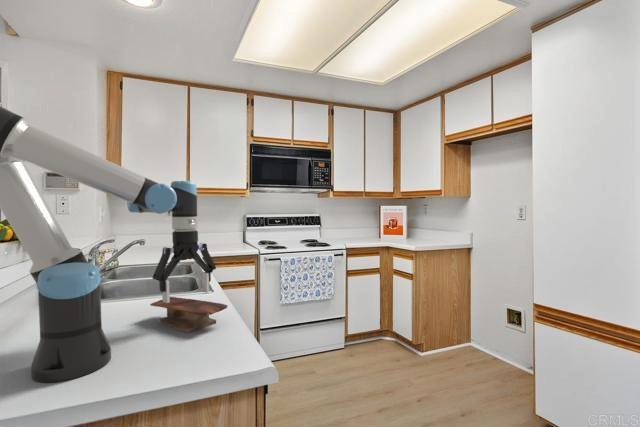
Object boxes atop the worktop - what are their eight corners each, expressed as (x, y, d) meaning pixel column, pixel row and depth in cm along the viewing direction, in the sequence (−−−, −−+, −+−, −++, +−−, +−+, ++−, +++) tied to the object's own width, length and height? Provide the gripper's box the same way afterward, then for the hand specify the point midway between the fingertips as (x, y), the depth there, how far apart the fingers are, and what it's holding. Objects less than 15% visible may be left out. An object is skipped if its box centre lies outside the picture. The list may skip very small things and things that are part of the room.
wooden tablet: (146, 301, 109) (172, 290, 118) (147, 307, 110) (173, 296, 118) (204, 313, 96) (229, 300, 105) (205, 321, 97) (230, 307, 105)
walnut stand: (186, 333, 99) (186, 316, 99) (159, 321, 109) (159, 306, 108) (216, 323, 107) (215, 307, 106) (188, 313, 116) (187, 299, 116)
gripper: (151, 233, 95) (153, 308, 95) (225, 227, 114) (226, 290, 115) (138, 232, 99) (140, 304, 100) (212, 227, 119) (213, 287, 120)
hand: (186, 296), depth 107 cm, fingers open, 13 cm apart
